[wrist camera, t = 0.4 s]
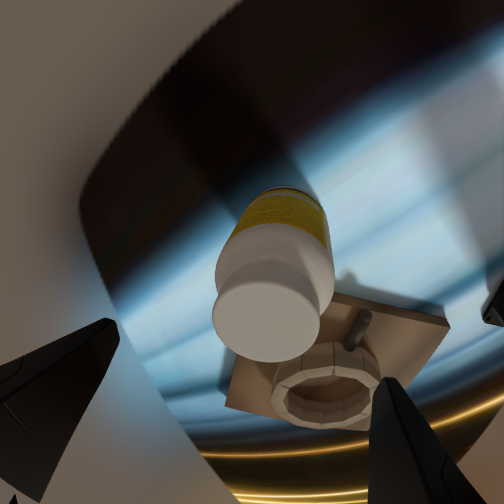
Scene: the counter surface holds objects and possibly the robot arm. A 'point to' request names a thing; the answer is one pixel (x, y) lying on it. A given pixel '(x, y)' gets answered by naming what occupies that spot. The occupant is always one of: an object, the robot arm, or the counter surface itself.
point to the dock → (339, 366)
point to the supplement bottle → (274, 277)
